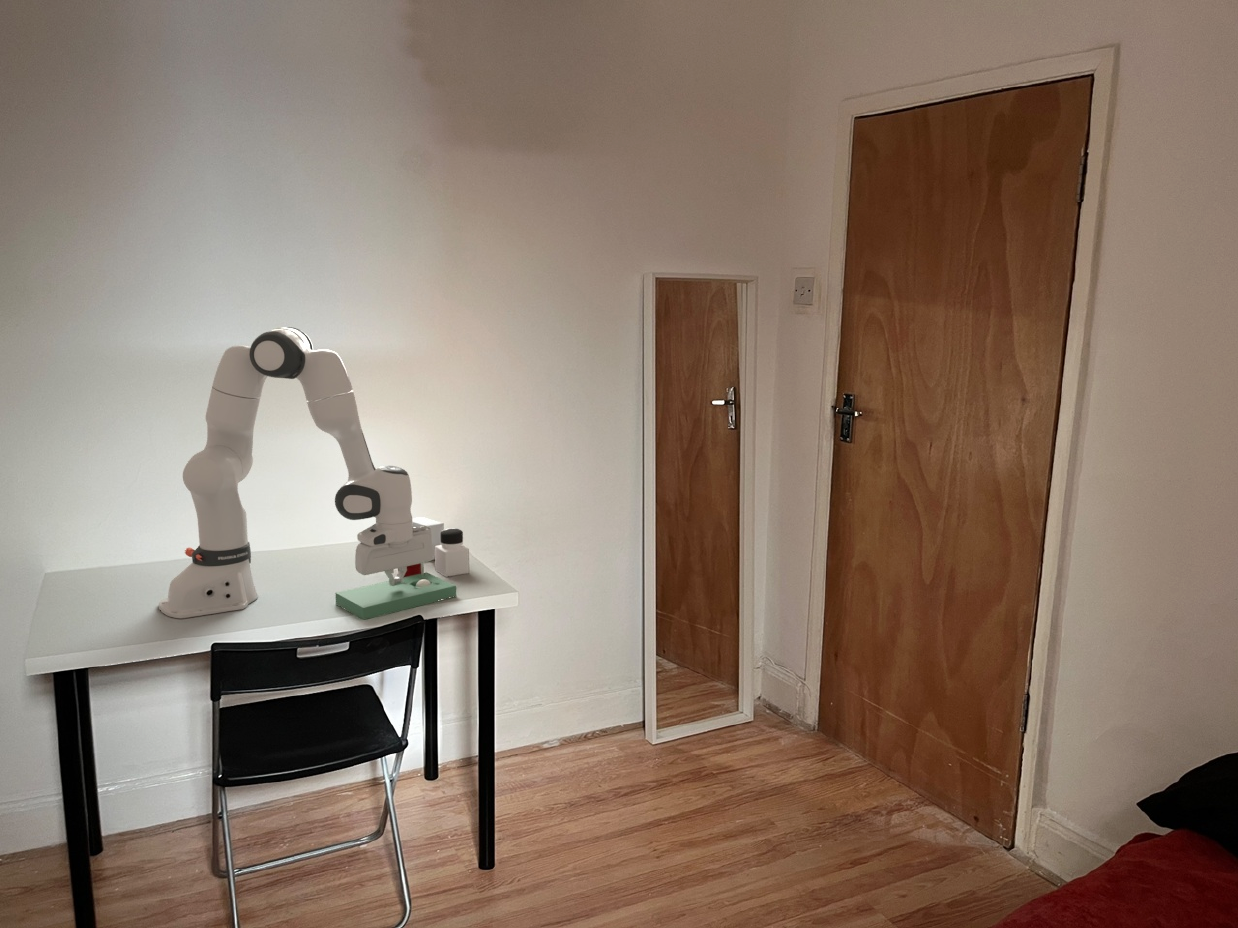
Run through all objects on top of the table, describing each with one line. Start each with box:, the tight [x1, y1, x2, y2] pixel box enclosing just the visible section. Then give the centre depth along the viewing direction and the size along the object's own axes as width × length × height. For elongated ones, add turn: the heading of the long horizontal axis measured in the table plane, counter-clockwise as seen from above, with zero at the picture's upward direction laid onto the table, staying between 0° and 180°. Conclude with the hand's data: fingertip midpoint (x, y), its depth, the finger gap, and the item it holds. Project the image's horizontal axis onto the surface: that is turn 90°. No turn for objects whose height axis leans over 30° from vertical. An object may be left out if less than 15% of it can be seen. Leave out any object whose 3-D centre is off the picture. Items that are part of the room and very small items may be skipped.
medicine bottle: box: [434, 527, 470, 578], centre depth 266 cm, size 7×7×12 cm
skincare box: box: [412, 516, 445, 561], centre depth 280 cm, size 10×6×10 cm, turn 49°
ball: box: [416, 579, 431, 587], centre depth 248 cm, size 4×4×4 cm
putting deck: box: [335, 562, 457, 621], centre depth 242 cm, size 26×16×15 cm, turn 133°
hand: (396, 584), depth 242 cm, fingers closed
